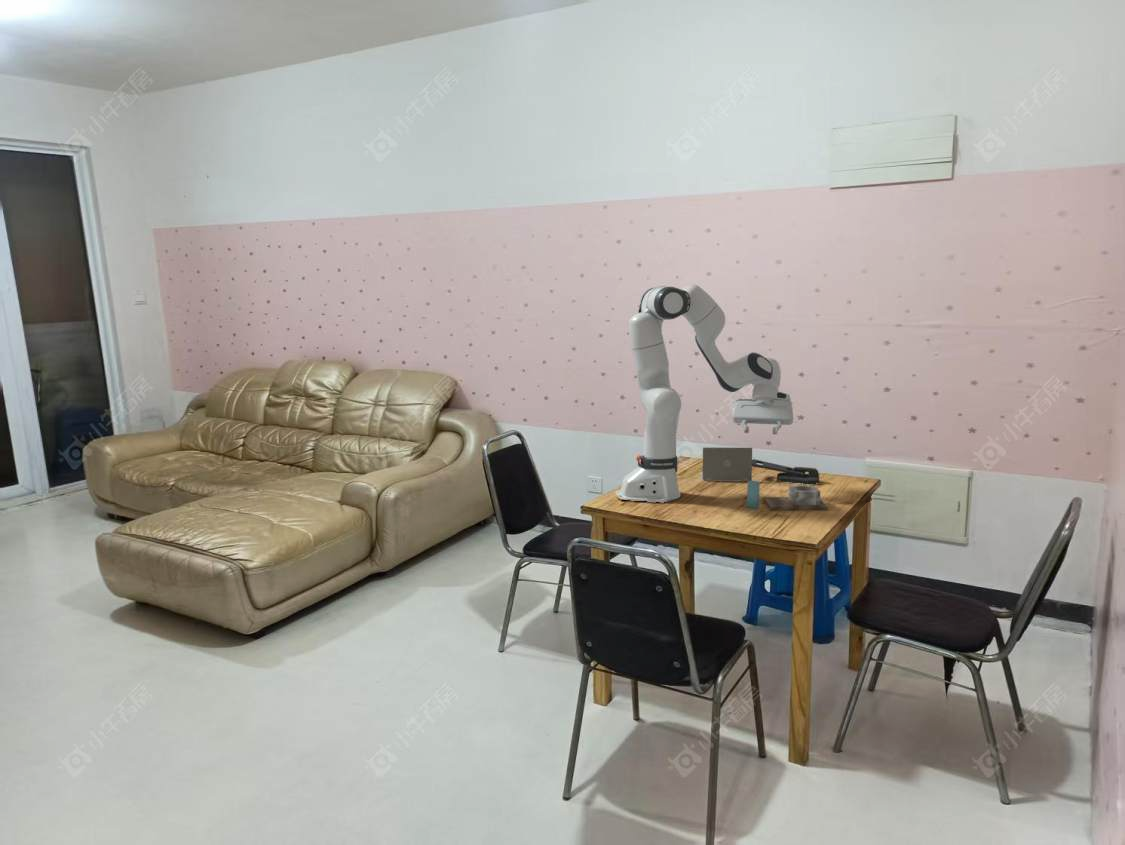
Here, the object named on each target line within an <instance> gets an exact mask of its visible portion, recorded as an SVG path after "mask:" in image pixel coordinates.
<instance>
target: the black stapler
mask: <svg viewBox="0 0 1125 845" xmlns="http://www.w3.org/2000/svg"><path fill="white" fill-rule="evenodd" d="M753 467H754V468H760V469H765V470H768V471H775V472H780V473H777V475H776V481H777V480H778V481H777V482H779V481H780V482H779V483H782V482H792V483H801V484H802V483H803V484H816V483H818V482H819V483H820V474H819V471H818V469H817V468H816V467H807V466H806V467H803V466H794V467H790V466H786V465H781V464H776V463H773V462H772V463H771V462H767V461H763V460H759V459H756V458H752V468H753ZM792 483H791V484H792ZM801 484H800V485H801Z"/></svg>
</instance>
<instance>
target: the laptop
mask: <svg viewBox="0 0 1125 845" xmlns="http://www.w3.org/2000/svg"><path fill="white" fill-rule="evenodd" d="M752 460H753V447H703V448H702V471H699V473H700V474H699V475H700V478H701V480H702V482H748V481H752V480H753V479H752V475H753V474H752V469H753V466H752Z"/></svg>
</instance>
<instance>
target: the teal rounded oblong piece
mask: <svg viewBox="0 0 1125 845" xmlns="http://www.w3.org/2000/svg"><path fill="white" fill-rule="evenodd" d="M760 483H761V482H760V481H758V480H751V481H747V489H746V490H747V491H746V493H747V494H746V508H747V509H749V510H750V509H751V510H758V509H760Z"/></svg>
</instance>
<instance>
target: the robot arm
mask: <svg viewBox="0 0 1125 845" xmlns="http://www.w3.org/2000/svg"><path fill="white" fill-rule="evenodd" d="M640 299H641V300H640V305H639V309H638V313H636V314H634V315H633V316H632V317H630V319H629V322H628V332H629V334H628V335H629V344H630V347H631V352H632V356H633V360H634V361H633V362H634V364H635V369H636V375H637V376H636V378H637V384H638V392H639V397H640V403H641V405H642V407H643V409H644V410H645V411H646V423H645V429H644V432H643V455H641V454H637V455H636V457H635V459H636V461H637V467H635V468H634V469H632V470H631V471H630V472H628V473H627V474H625V476H624V477H623V480H622V483H621V487H620V488H621V489H620V488H619V489H620V490H618V489H617V490H616V491H615V494H616V495H617V496H618V497H619V496H622V497H619V498H621V499H627V500H635V501H647V502H646V503H656V502H660V503H661V504H665V503H667V502H669V501H675V500H677V499H679V498H680V497H681V493H680V492H681V491H680V489H679V482H678V476H677V474H678V473H677V472H678V468H679V465H678V462H679V461H678V460H679V459H678V455H677V431H678V426H679V421H680V419H679V418H680V411H681V409H682V399H681V396H680V395H679V393H678V392H677V391H676V389H674V388H672V386H671V382H670V373H669V372H670V371H669V366H670V365H669V364H670V363H669V359H668V354H667V349H666V345H665V341H664V336H663V334H662V332H663V330H662V328H663V327H662V326H663V323H664V321H666V320H674V319H677V318H679V317H680V316H683V318H685V319H686V320H687V322H688V323H689V324H690V325H691V326H692V328H693V329H694V330H693V331H694V332H695V336H694V337H695V342H696V345H697V347H698V349H699V351H700V352H701V354H702V355H703V357H704V359H705V361H706V362H707V364H708V365H709V367H710V368H711V369H712V371H713V373H714V375H715V377H716V379H717V381H718V384H719V386H720V387H721V388H722V390H723V389H724V390H725V391H727V392H730V393H734V392H735V393H736V392H737V391H739V390H740V389H742V388H744V387H746V386H748V385H750V384H751V385H752V386H753V389H752V395H751V398H739V399H737V400H735V401H733V405H732V406H733V407H732V408H733V410H732V413H731V417H732V419H731V420H732V421H733V423H735V424H741V425H742V428H743V433H744V434H749V432H750V427H749V426H747V424H752V425H753V424H756V425H759V424H760V425H776V426H775V427H772V435H778V432H779V430H781V428H782V427H783V425H785V426H791V425H792V424H793V423H794V411H793V410H794V409H793V405H792V399H791V396H790V394H788V393H785V392H782V391H779V387H780V385H781V379H782V378H781V375H782V374H781V373H782V372H781V367H780V363H779V362H778V361H777V360H776V359H775V358H772V357H765V356H763V355H762V354H760V353H758V352H750V353H747V354H745V355H744V356H742V357H740V358H738V359H736V360H733V361H732V362H727V361H726V359H725V358H724V356H723V354H722V353H721V352H720V350H719V348H718V346H717V345H716V340H717V339H718V337H719V336H720V334H721V333H722V332H723V330H724V327H725V325H726V314H725V312H724V310H723V309H722V308H721V306H719V304H718V303H717V302H716V301H715V299H714V298H712V296H710V295H709V293H707V292H706V291H705V290H704V289H703V288H701V287H700V286H699V285H697V284H692V283H691V284H688V285H685V286H684V287H683V288H681V289H680V288H677V287H675V286H666V285H664V286H663V285H660V286H656V287H651V288H649V289H647V290H646V291H645V292H644V293H643V295H642V296H641V298H640ZM617 492H618V493H617ZM664 502H665V503H664ZM660 503H659V504H660Z"/></svg>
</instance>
